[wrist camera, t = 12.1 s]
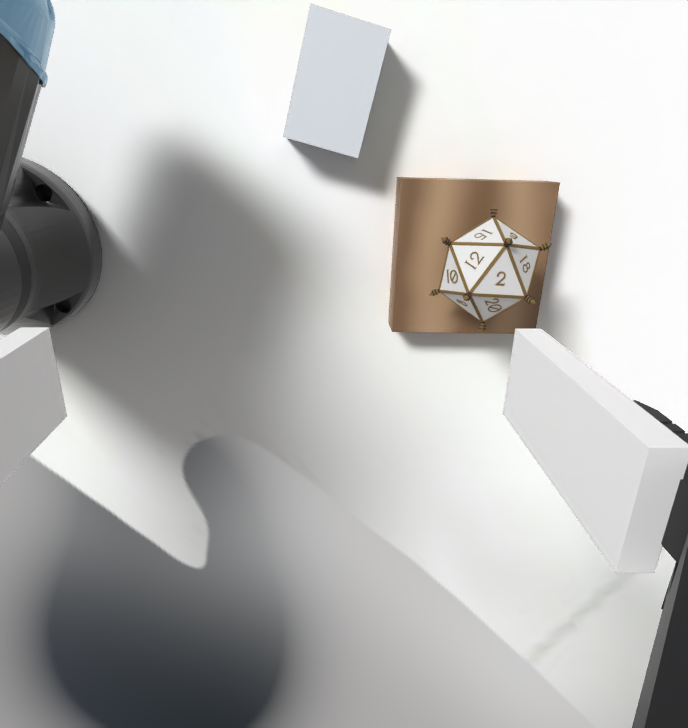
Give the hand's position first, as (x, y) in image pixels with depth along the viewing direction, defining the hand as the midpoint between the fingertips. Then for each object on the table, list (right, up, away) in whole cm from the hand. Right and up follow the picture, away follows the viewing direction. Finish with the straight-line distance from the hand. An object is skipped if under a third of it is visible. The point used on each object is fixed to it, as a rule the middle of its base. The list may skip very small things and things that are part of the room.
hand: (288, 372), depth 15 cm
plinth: (+13, +10, +33) cm, 37 cm away
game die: (+13, +9, +30) cm, 34 cm away
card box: (+1, +23, +28) cm, 36 cm away
